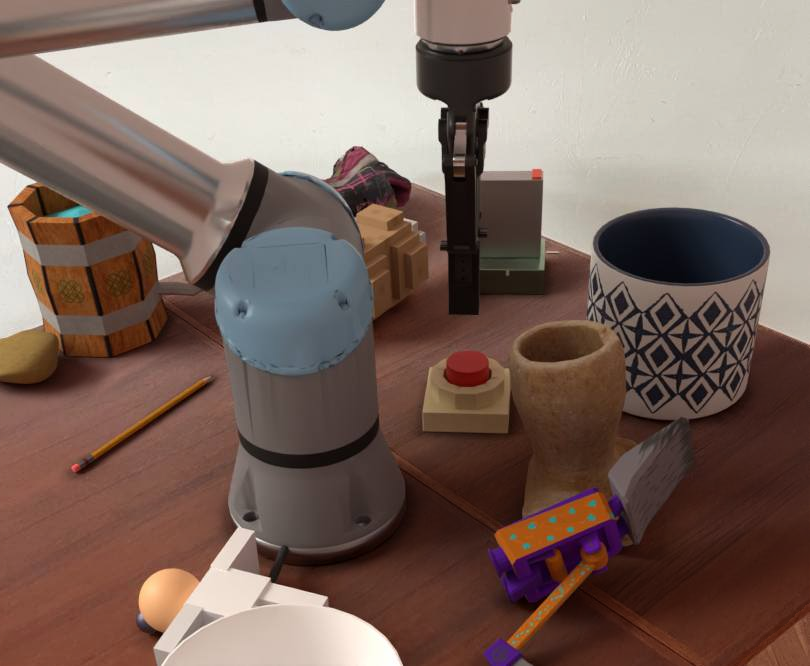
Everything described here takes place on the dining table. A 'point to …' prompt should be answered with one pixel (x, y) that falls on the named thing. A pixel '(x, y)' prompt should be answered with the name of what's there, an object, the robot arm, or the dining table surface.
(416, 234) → the roast turkey
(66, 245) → the mug
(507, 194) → the tap handle
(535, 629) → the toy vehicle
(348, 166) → the athletic shoe
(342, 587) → the dining table surface
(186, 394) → the pencil
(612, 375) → the stone cup
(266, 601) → the figurine
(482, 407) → the button box
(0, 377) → the potato
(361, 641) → the bowl
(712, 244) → the planter
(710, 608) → the dining table surface
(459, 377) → the red button
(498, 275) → the tap panel
